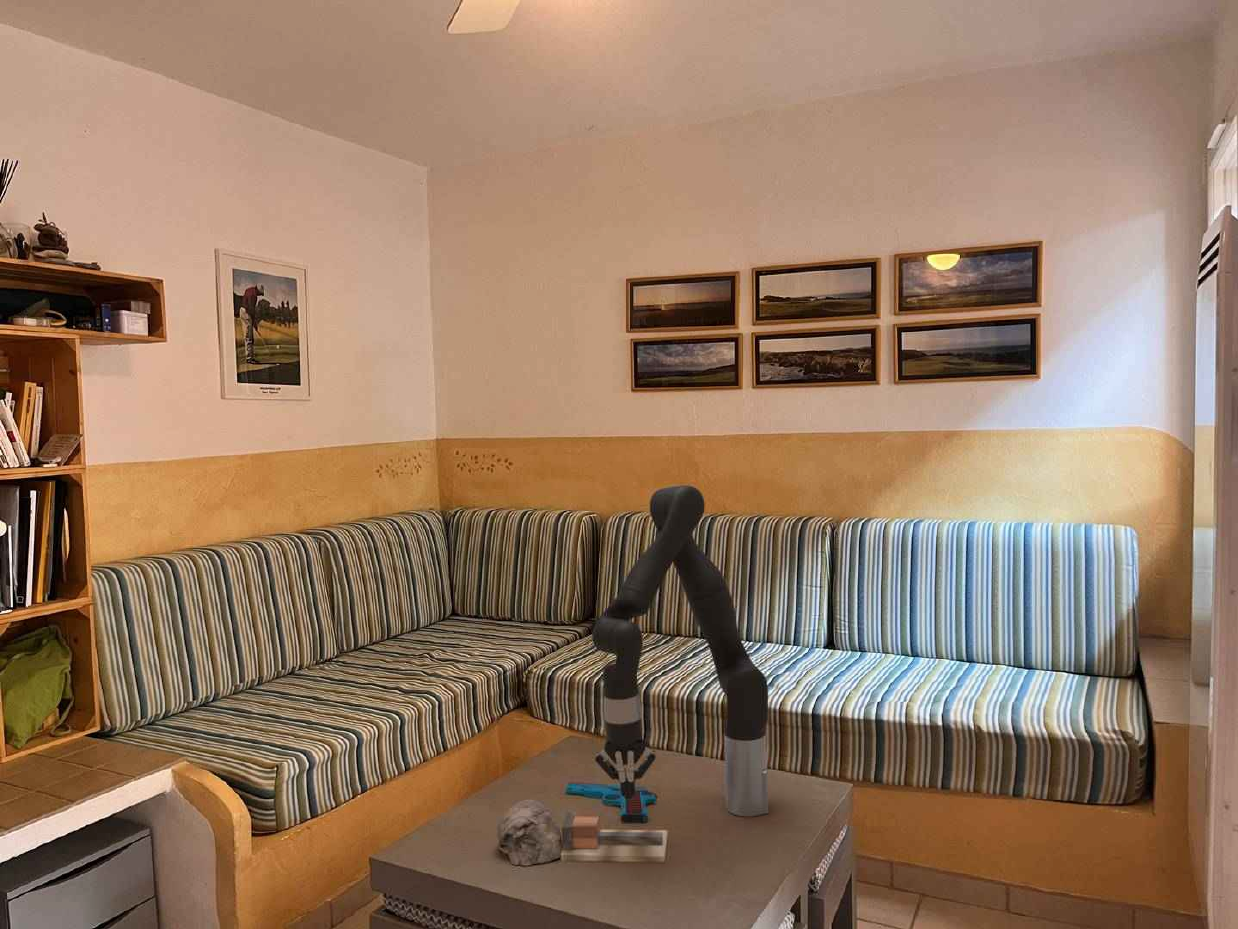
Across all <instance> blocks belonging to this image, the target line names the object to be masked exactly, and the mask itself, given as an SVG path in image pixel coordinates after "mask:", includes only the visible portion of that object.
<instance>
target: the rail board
mask: <svg viewBox="0 0 1238 929" xmlns="http://www.w3.org/2000/svg"><path fill="white" fill-rule="evenodd" d="M576 813H578V812H577V811H567V813H566V815H565V818H564V820H563V823H562V825H561V838H562V842H563V849H562V853H561V856H560V861H563V862H565V861H569V862H571V861H573V862H575V861H576V862H620V863H621V862H624V863H627V862H629V863H630V862H631V863H632V862H633V863H665V860H666V854H667V853H666V852H667V844H668V838H669V836H668V833H669V832H668V830H663V829H662V830H659V829H657V830H655V829H653V830H651V829H650V830H649V829H646V830H645V829H601V832H598V847H597V848H573V839H572V824H573V822H574V819H575V816H576Z"/></svg>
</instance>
